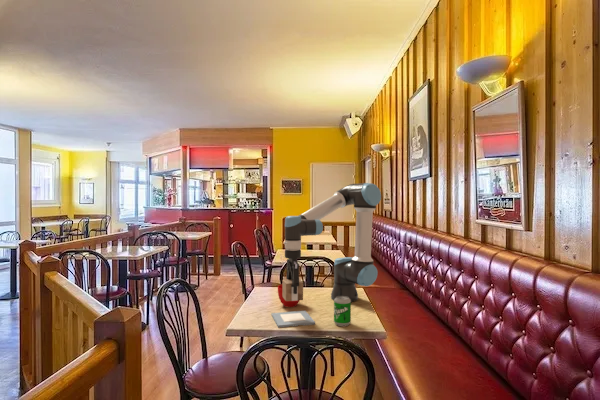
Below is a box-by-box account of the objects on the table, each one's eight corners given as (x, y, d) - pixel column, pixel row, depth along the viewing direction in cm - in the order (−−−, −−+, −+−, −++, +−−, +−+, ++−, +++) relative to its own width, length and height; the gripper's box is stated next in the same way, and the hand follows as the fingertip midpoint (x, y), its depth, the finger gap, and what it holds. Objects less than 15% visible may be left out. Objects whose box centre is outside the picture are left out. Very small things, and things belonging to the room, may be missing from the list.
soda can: (339, 320, 171) (339, 294, 170) (353, 323, 166) (353, 297, 166) (330, 324, 165) (330, 297, 165) (344, 328, 160) (345, 301, 160)
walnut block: (298, 295, 175) (298, 278, 175) (303, 300, 168) (303, 282, 168) (282, 296, 173) (282, 279, 173) (286, 301, 166) (286, 283, 166)
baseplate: (305, 312, 181) (305, 310, 181) (315, 324, 165) (315, 321, 165) (271, 315, 177) (271, 312, 177) (278, 327, 160) (278, 325, 160)
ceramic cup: (303, 300, 203) (303, 282, 203) (300, 309, 186) (301, 289, 186) (280, 299, 204) (280, 281, 204) (275, 308, 187) (275, 289, 187)
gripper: (280, 246, 179) (280, 292, 180) (289, 252, 159) (289, 304, 160) (295, 245, 181) (294, 291, 182) (306, 252, 161) (306, 303, 161)
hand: (292, 297), depth 171 cm, fingers closed on walnut block, 8 cm apart
